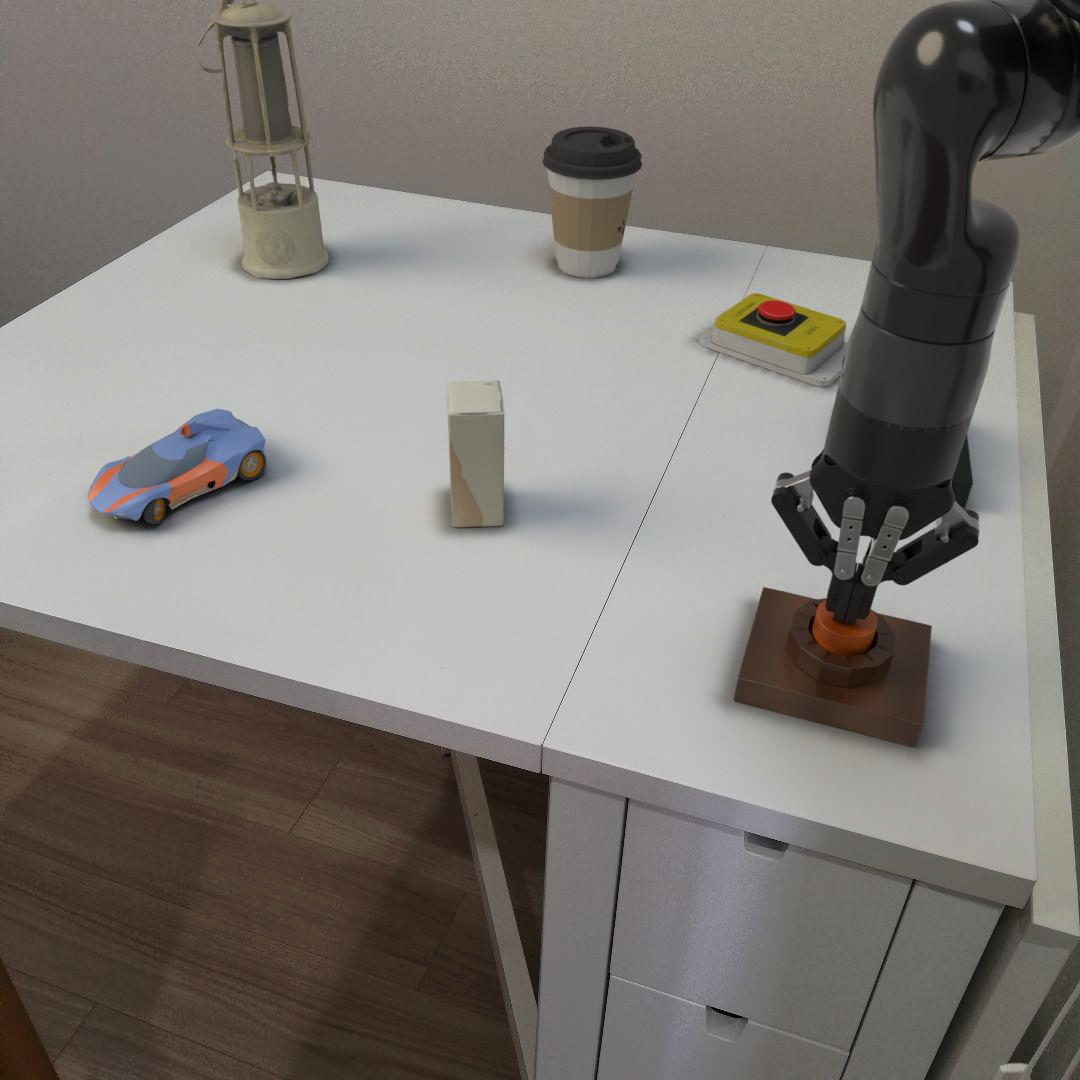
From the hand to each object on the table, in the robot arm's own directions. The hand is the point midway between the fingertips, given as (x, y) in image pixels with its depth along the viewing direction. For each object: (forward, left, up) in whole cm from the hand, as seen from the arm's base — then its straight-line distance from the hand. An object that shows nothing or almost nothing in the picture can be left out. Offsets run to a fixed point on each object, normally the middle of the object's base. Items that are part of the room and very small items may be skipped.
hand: (845, 615), depth 70 cm
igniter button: (0, 0, -2) cm, 2 cm away
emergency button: (+36, -32, -6) cm, 49 cm away
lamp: (+86, +2, -6) cm, 86 cm away
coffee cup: (+64, -28, -6) cm, 70 cm away
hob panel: (+15, -26, -6) cm, 31 cm away
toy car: (+47, +29, -6) cm, 56 cm away
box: (+30, +10, -6) cm, 32 cm away
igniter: (0, 0, -6) cm, 6 cm away
